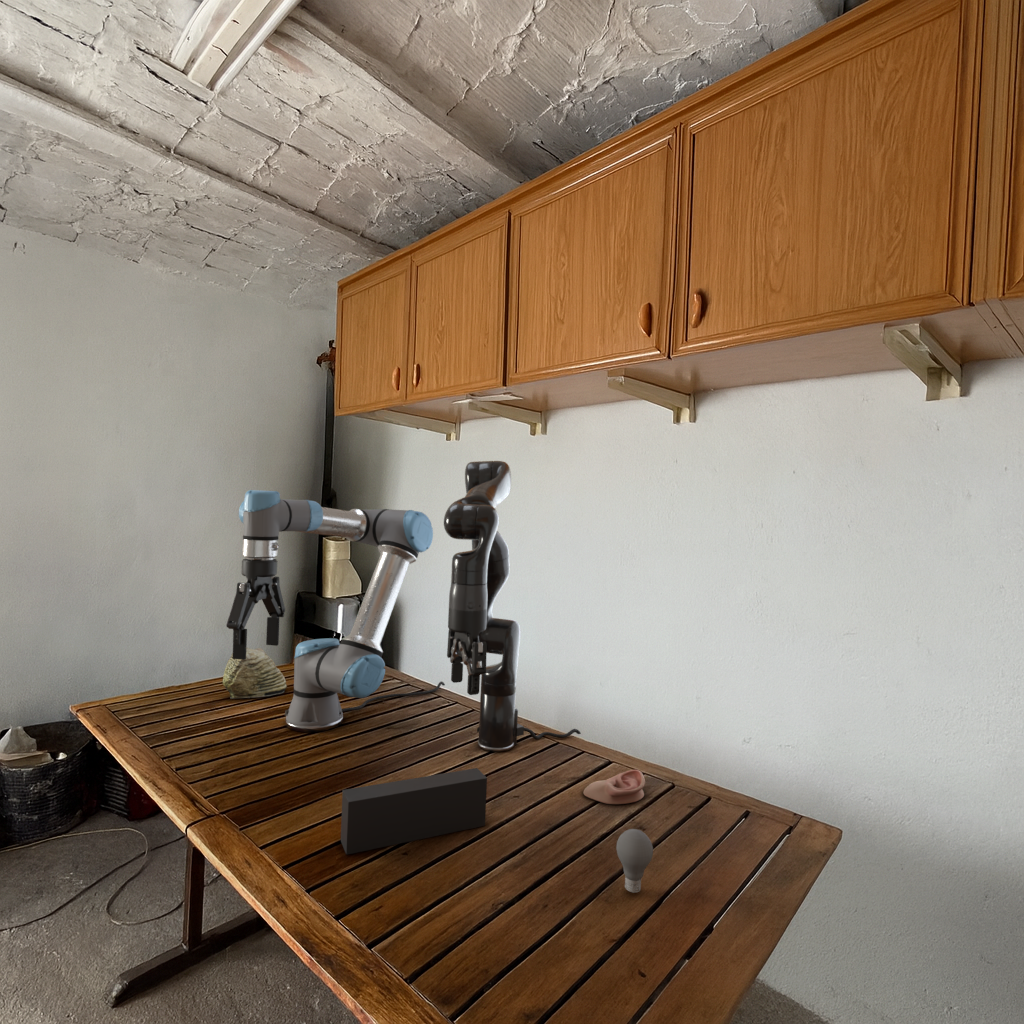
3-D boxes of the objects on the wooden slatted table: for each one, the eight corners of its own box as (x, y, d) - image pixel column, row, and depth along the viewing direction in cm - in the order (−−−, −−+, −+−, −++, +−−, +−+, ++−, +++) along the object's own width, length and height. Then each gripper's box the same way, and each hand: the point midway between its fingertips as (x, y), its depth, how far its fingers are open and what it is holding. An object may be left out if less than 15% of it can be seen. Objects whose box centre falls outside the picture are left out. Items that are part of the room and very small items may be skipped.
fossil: (218, 695, 195) (220, 647, 195) (278, 685, 208) (279, 640, 207) (228, 703, 189) (230, 653, 188) (289, 692, 201) (290, 645, 201)
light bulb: (610, 879, 108) (613, 822, 108) (644, 879, 109) (647, 822, 109) (619, 902, 102) (622, 840, 102) (655, 901, 103) (658, 840, 103)
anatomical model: (582, 782, 137) (587, 761, 148) (581, 800, 137) (586, 778, 148) (645, 790, 134) (645, 768, 145) (644, 809, 134) (644, 785, 145)
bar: (346, 855, 113) (348, 802, 112) (340, 840, 117) (342, 789, 117) (485, 825, 125) (487, 777, 125) (475, 814, 129) (477, 767, 129)
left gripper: (243, 564, 130) (240, 666, 131) (301, 554, 155) (298, 641, 155) (210, 562, 132) (206, 663, 132) (273, 553, 156) (270, 638, 157)
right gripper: (500, 611, 119) (497, 696, 120) (471, 599, 132) (468, 676, 132) (464, 613, 116) (460, 701, 116) (437, 600, 129) (434, 679, 129)
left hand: (256, 651), depth 144 cm, fingers open, 13 cm apart
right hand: (464, 687), depth 124 cm, fingers open, 8 cm apart
